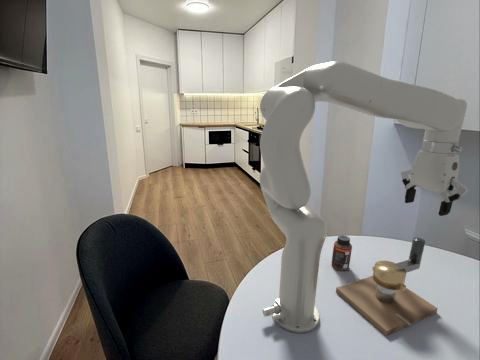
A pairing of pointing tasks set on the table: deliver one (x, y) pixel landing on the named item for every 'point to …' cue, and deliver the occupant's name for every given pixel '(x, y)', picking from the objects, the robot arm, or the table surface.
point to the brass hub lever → (398, 268)
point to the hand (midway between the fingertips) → (425, 208)
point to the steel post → (385, 294)
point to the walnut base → (385, 305)
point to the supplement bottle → (341, 253)
